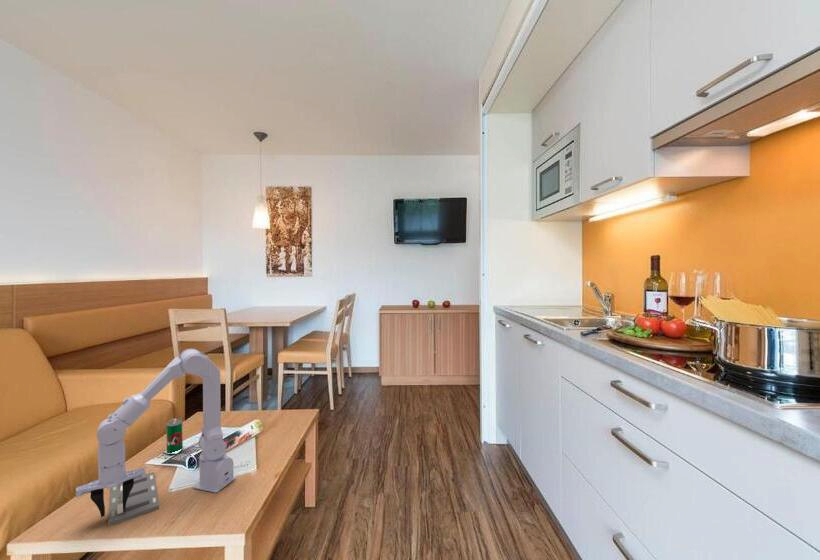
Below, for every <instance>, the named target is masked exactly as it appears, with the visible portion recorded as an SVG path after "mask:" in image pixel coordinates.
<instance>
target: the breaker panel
mask: <svg viewBox="0 0 820 560" xmlns="http://www.w3.org/2000/svg"><path fill="white" fill-rule="evenodd" d="M122 487H123V483H120V484H117V486H116V487H113V488H110V494H109V495H110V496H109V497H110V498H109V508H108V509H109V510H108V524H107V526H108V527H110V526H113V525H116V524H118V523H121V522H125V521H127V520H131V519H133V518H136V517H139V516H142V515H145V514H147V513H151V512H153V511H156V510H159V509H160V504H159V503H160V502H159V497H158V488H157V481H156V475H155V471H153V472H152V471H151V472H149V473H146V477H144V478H141V477H140V478H137V479H134V485H133V488H132V490H131V491H130V494H129V496H128V499H127V502H126V508H125V509H124V510H123V513H120V514H117V499H120V498H123V489H122Z"/></svg>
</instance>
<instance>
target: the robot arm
mask: <svg viewBox="0 0 820 560" xmlns="http://www.w3.org/2000/svg"><path fill="white" fill-rule="evenodd" d="M185 373H187V374H189V375H192V376H193V375H194V376H198V377H199V378H201V379H202V422H203V423H202V425H203V426H202V428H201V435H200V437H199V440H198V447H199V449H200V450H201V452H200V455H199V456H198V458H199V460H198V461H199V462H198V463H199V482H197V483H195V484H194V485H193V486H192V489H196V490H202V491H207V492H211V493H218V492H219V491H221V490H222V489H223V488H225V487H226V486H228V485H229V484H230V483H232V482H233V481H235V480H236V476H235V475H234V460H233V458H232V457H230V456H228V455H227V453H226V451H227V444H226V442H225V440H224V436H223V429H222V427H221V418H222V417H221V409H222V408H221V370H220V368H218V367H217V365H216V364H215V363H214V362H213V361H212V360H211V359H210V358H209V356H207V355H206V354H205V353H204V352H202V351H200V350H198V349H196V348H186V349H184V350H183V351H182V352H181V353H180V354H179V356H176V357H175V358H173V359H172V360H171V361H170V362H169V363H168V364H167V365H166V367H165V368H164V369H163V370H162V371H160V373H159V374H158V375H156V377H155V378H154V379H153V380H152V381H151V382H150V383H149V384H148V385H147V386H146V387H145V388H144V389H143V390H142V391H141V392H140V393H136V394H132V395H131V396H130V397H125V398H124V399H123V400H122V404H121V405H120V406H119V407H118V408H117V409H116V410H115V411H114V412H113V413H109V414H108V416H107V417H106V419H104V420H102V421H101V422H100V423H99V425H98V427H97V429H96V438H97V441H98V443H97V447H98V449H97V467H98V468H97V469H98V470H97V472H98V479H96V480H93V481H90V482H88V483H86V484H83V485H80V486H77V487H76V489H75V498H81V497H82V496H83V495H87V494H90V500H91V501H92V502H93V503H94V504H95V506H96V507H97V509H98V510H99V512H100V513H99V514H100V517H101V518H103V517H105V516H106V506H105V499H104V498H105V497H104V495H105V494H104V493H105V492H104V490H105V489H107V490H108V489H111V488H113V487H116V486H117V484H120V483H123V487H122V489H123V510H124V509H125V508H126V502H127V499H128V496H129V494H130V491H131V490H132V488H133V485H134V479H137V478H140V477H141V478H144V477H146V474H147V473H146V471H147V470H146V467H143V468H138V469H133V470H127V469H126V442H125V441H124V437H125V435H126V433H127V432H126V431H127V429H128V428H130V427H131V426H132V425H133V424H134V423H135V422H136V421H137V420H138V419H139V418H140V417H141V416H143V415H144V413H145V412H146V411H147V410H148V409H149V408H150V406H151V400H152V399H153V398H154V397H156V396H157V395H158V394H159V393H160V392H161V391H162V390H163V389H164V388H165V387H166V386H168V385H169V384H170V382H172V381H173V380H175V379H177V378H182V377H186V374H185Z"/></svg>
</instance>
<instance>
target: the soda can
mask: <svg viewBox="0 0 820 560" xmlns="http://www.w3.org/2000/svg"><path fill="white" fill-rule="evenodd" d="M166 422H167V423H166V425H165V428H166V429H165V432H166V434H165V435H166V440H165V441H166V454H167V453H172V452H175V451H178V450H180V449H182V448H183V449H184V446H183V444H184V441H183V437H184V436H183V421H182V419H181V418H172V419H170V420H168V421H166Z"/></svg>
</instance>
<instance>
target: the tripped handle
mask: <svg viewBox="0 0 820 560" xmlns="http://www.w3.org/2000/svg"><path fill="white" fill-rule="evenodd" d="M120 513H123V498H120V499H117V514H120Z"/></svg>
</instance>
